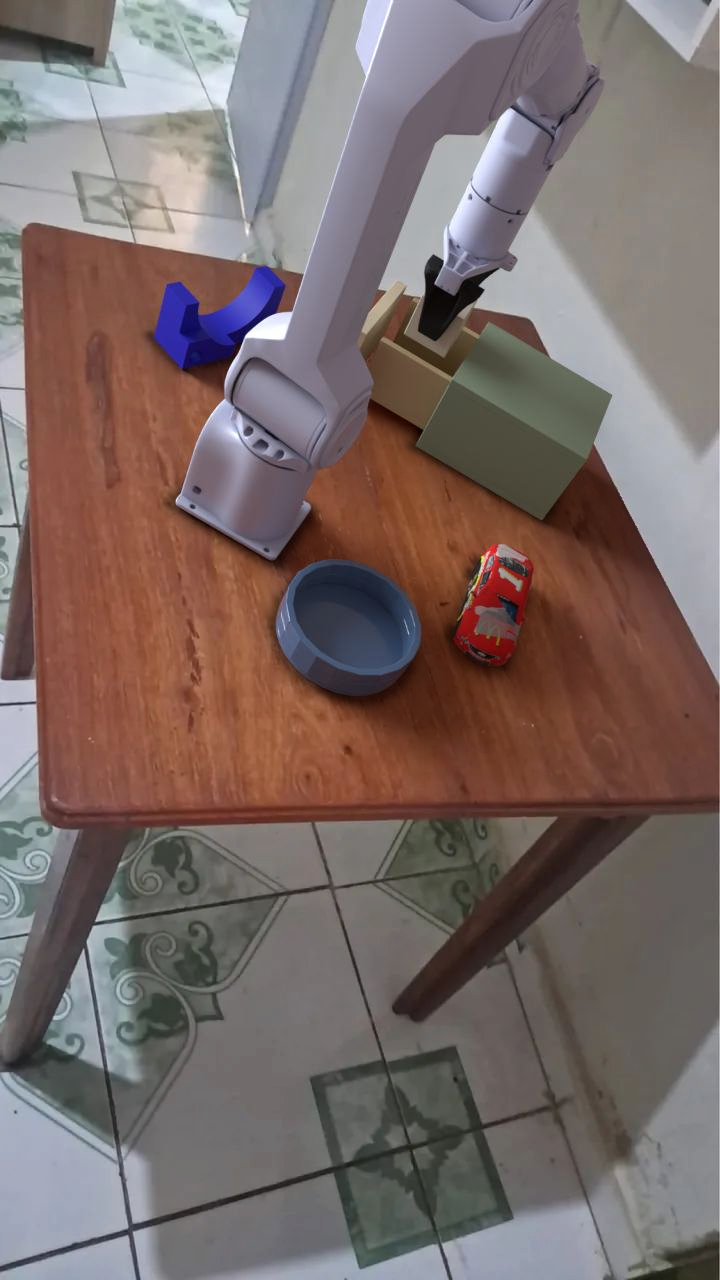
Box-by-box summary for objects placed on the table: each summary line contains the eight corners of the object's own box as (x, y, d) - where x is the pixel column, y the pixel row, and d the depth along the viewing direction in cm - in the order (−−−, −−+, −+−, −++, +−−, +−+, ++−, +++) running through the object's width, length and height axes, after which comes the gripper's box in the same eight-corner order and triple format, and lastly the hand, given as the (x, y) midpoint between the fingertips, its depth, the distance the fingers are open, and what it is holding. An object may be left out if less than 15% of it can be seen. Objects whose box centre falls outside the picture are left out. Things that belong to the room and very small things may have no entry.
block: (403, 334, 91) (422, 294, 88) (418, 314, 94) (437, 275, 91) (443, 358, 91) (464, 319, 88) (457, 337, 94) (477, 299, 91)
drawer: (297, 363, 94) (319, 306, 89) (341, 315, 101) (363, 259, 96) (449, 453, 94) (480, 401, 89) (481, 398, 102) (511, 347, 97)
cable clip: (181, 369, 89) (196, 316, 84) (153, 338, 90) (166, 283, 85) (277, 345, 96) (295, 295, 92) (250, 316, 97) (267, 265, 93)
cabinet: (415, 446, 94) (451, 379, 88) (453, 386, 103) (489, 321, 96) (541, 520, 95) (587, 459, 88) (569, 455, 103) (612, 394, 97)
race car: (498, 681, 80) (521, 655, 77) (441, 651, 80) (462, 624, 77) (529, 581, 89) (550, 554, 86) (478, 553, 88) (498, 525, 85)
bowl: (251, 647, 73) (262, 624, 71) (310, 560, 80) (321, 537, 78) (377, 720, 73) (392, 700, 71) (424, 627, 80) (439, 606, 78)
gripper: (519, 250, 77) (448, 379, 87) (559, 190, 87) (491, 313, 97) (444, 205, 77) (382, 340, 87) (492, 150, 87) (432, 277, 97)
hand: (435, 323), depth 92 cm, fingers closed on block, 4 cm apart
